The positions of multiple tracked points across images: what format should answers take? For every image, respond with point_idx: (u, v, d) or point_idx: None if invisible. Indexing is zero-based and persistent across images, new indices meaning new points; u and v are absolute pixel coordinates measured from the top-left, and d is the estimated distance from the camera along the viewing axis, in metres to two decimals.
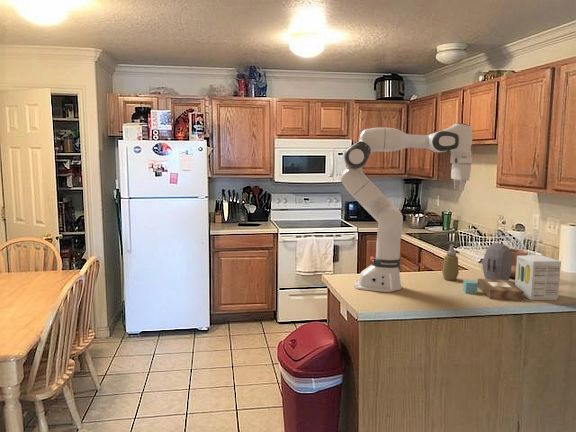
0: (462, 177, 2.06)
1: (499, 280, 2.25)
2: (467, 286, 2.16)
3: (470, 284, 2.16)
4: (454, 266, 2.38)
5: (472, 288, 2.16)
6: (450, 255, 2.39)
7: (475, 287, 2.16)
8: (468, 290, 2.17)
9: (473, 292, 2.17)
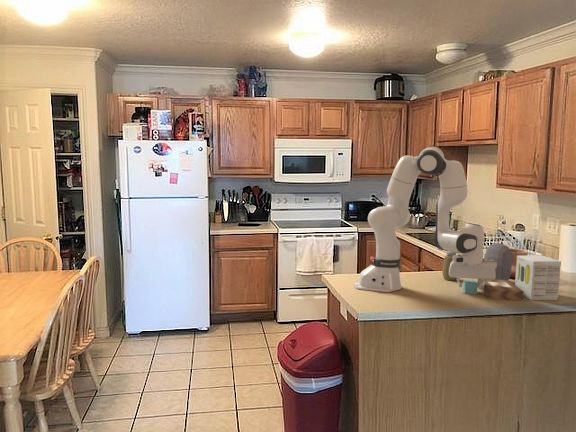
0: None
1: (499, 280, 2.25)
2: (467, 286, 2.17)
3: (470, 284, 2.16)
4: None
5: (472, 288, 2.16)
6: (450, 255, 2.39)
7: (475, 287, 2.16)
8: (468, 290, 2.17)
9: (473, 292, 2.17)
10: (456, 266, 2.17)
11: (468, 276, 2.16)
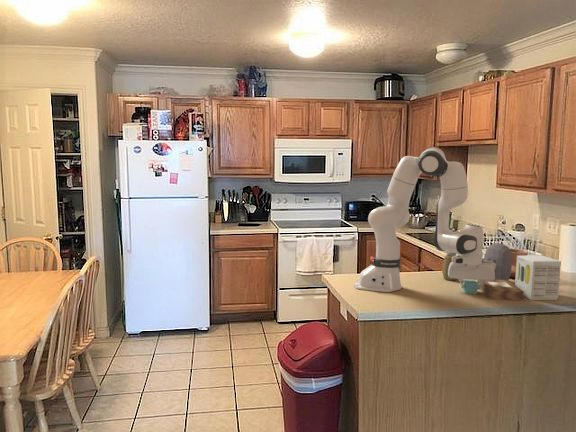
0: None
1: (499, 280, 2.25)
2: (467, 285, 2.16)
3: (470, 284, 2.16)
4: None
5: (472, 288, 2.16)
6: (450, 255, 2.39)
7: (475, 287, 2.16)
8: (468, 290, 2.17)
9: (473, 292, 2.16)
10: (455, 267, 2.18)
11: (467, 277, 2.17)
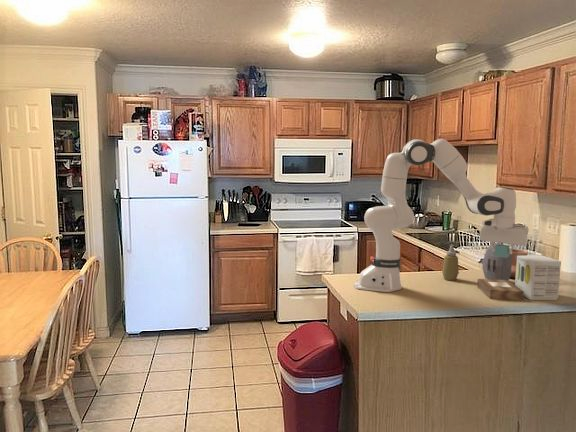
0: None
1: (499, 280, 2.25)
2: (496, 248, 2.14)
3: (499, 247, 2.13)
4: (454, 266, 2.38)
5: (501, 251, 2.13)
6: (450, 255, 2.39)
7: (504, 251, 2.12)
8: (497, 253, 2.14)
9: (502, 256, 2.13)
10: (485, 230, 2.18)
11: (497, 240, 2.14)
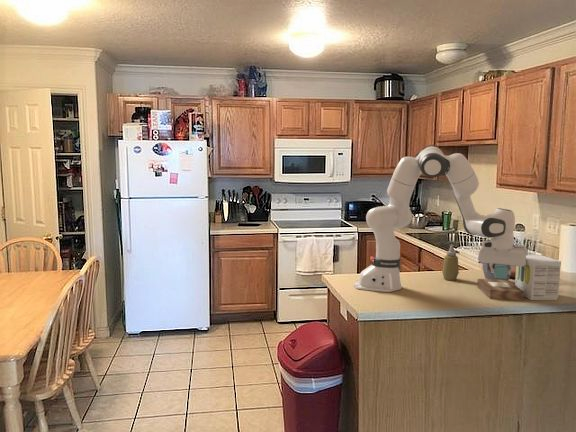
0: None
1: (499, 280, 2.25)
2: (496, 270, 2.14)
3: (500, 268, 2.14)
4: (454, 266, 2.38)
5: (502, 273, 2.14)
6: (450, 255, 2.39)
7: (505, 272, 2.13)
8: (497, 274, 2.14)
9: (503, 277, 2.14)
10: (484, 251, 2.17)
11: (497, 262, 2.15)
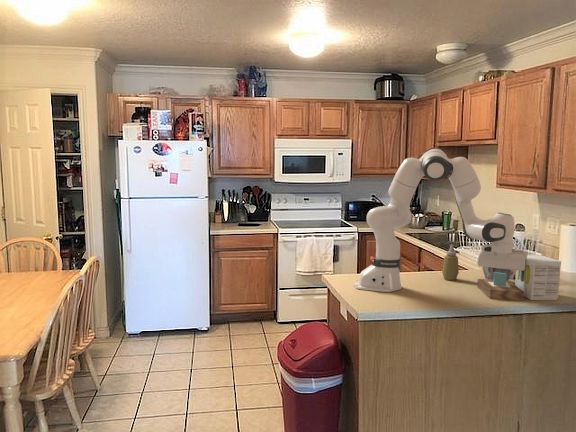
0: None
1: None
2: (495, 277, 2.15)
3: (498, 276, 2.15)
4: (454, 266, 2.38)
5: (501, 280, 2.14)
6: (450, 255, 2.39)
7: (504, 279, 2.14)
8: (496, 282, 2.15)
9: (502, 284, 2.14)
10: (484, 255, 2.17)
11: (496, 266, 2.15)
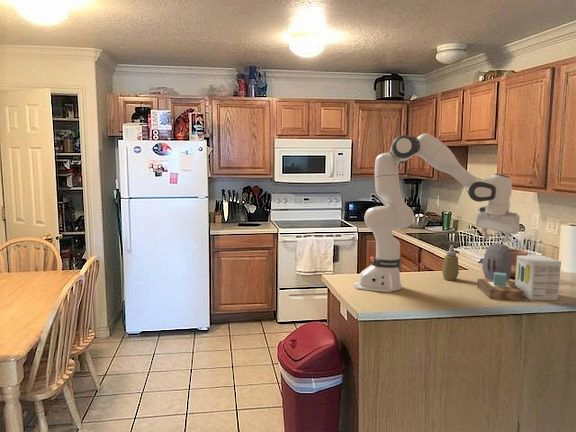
0: None
1: None
2: (495, 277, 2.15)
3: (498, 276, 2.15)
4: (454, 266, 2.38)
5: (501, 280, 2.14)
6: (450, 255, 2.39)
7: (504, 279, 2.14)
8: (496, 282, 2.15)
9: (502, 284, 2.14)
10: (481, 216, 2.18)
11: (490, 227, 2.14)
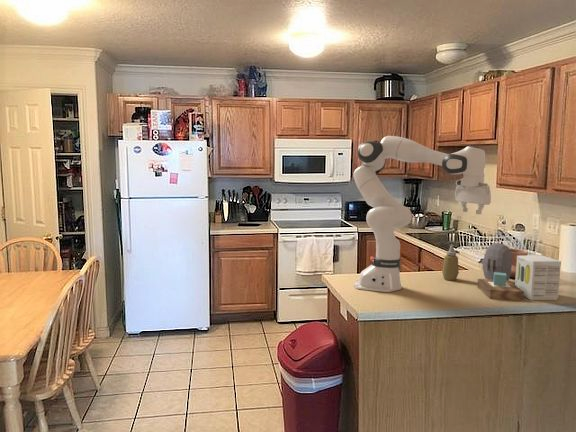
0: None
1: None
2: (495, 277, 2.15)
3: (498, 276, 2.15)
4: (454, 266, 2.38)
5: (501, 280, 2.14)
6: (450, 255, 2.39)
7: (504, 279, 2.14)
8: (496, 282, 2.15)
9: (502, 284, 2.14)
10: (459, 190, 2.18)
11: (466, 200, 2.13)
